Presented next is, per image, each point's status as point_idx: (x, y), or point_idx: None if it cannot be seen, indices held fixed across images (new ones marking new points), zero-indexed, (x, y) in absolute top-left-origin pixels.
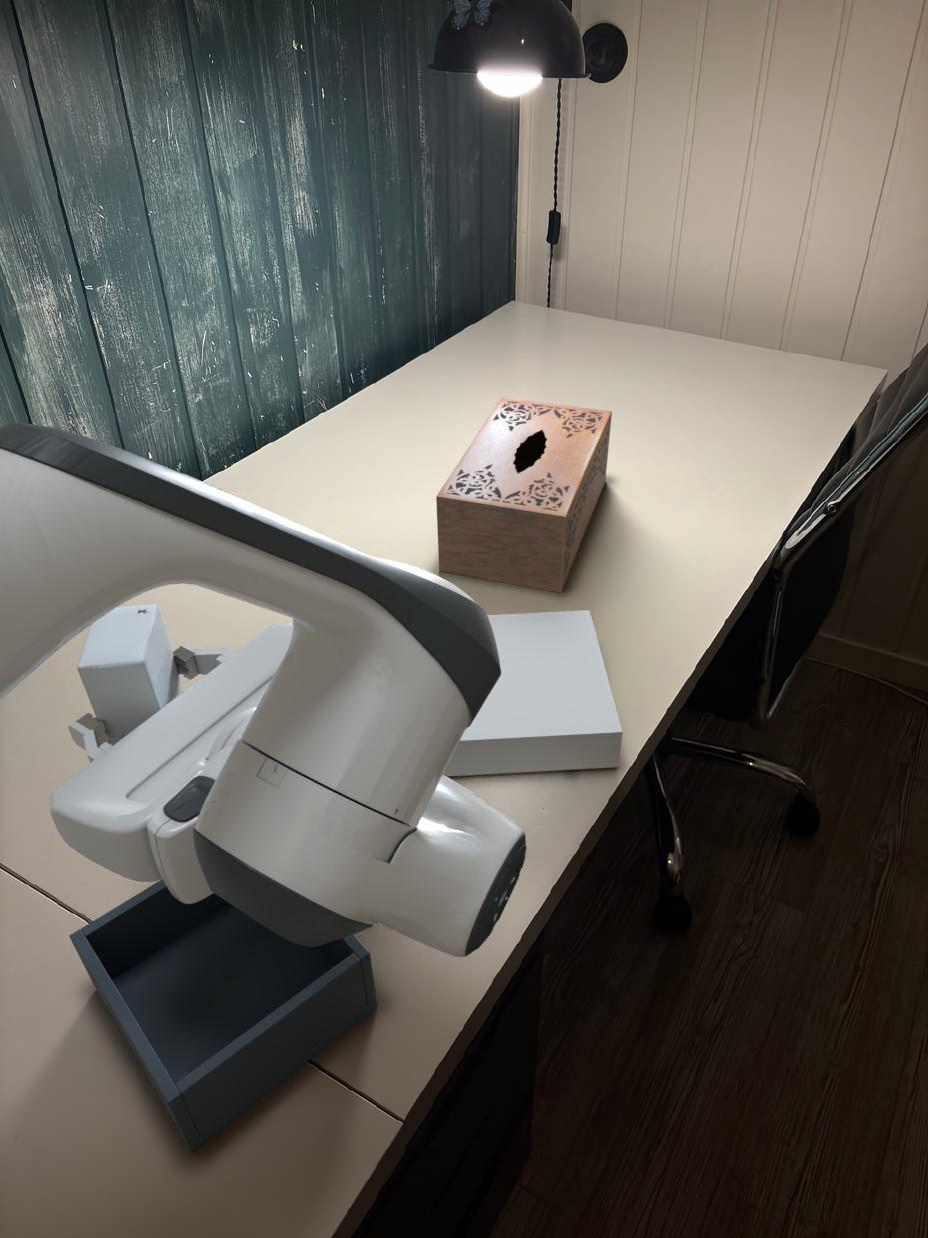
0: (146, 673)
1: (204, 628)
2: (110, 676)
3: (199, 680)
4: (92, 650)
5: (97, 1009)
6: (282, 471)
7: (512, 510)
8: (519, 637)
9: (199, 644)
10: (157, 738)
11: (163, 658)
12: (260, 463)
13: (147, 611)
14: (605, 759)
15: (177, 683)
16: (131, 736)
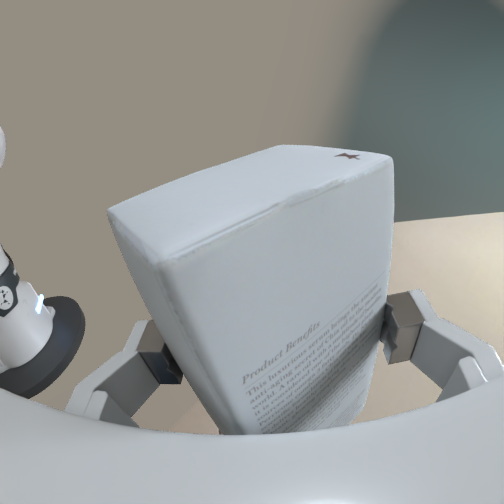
0: (183, 322)
1: (435, 288)
2: (132, 266)
3: (385, 422)
4: (165, 187)
5: None
6: (499, 224)
7: None
8: None
9: (428, 297)
10: (107, 501)
11: (346, 300)
12: (490, 216)
13: (359, 158)
14: None
15: (365, 356)
16: (97, 436)
